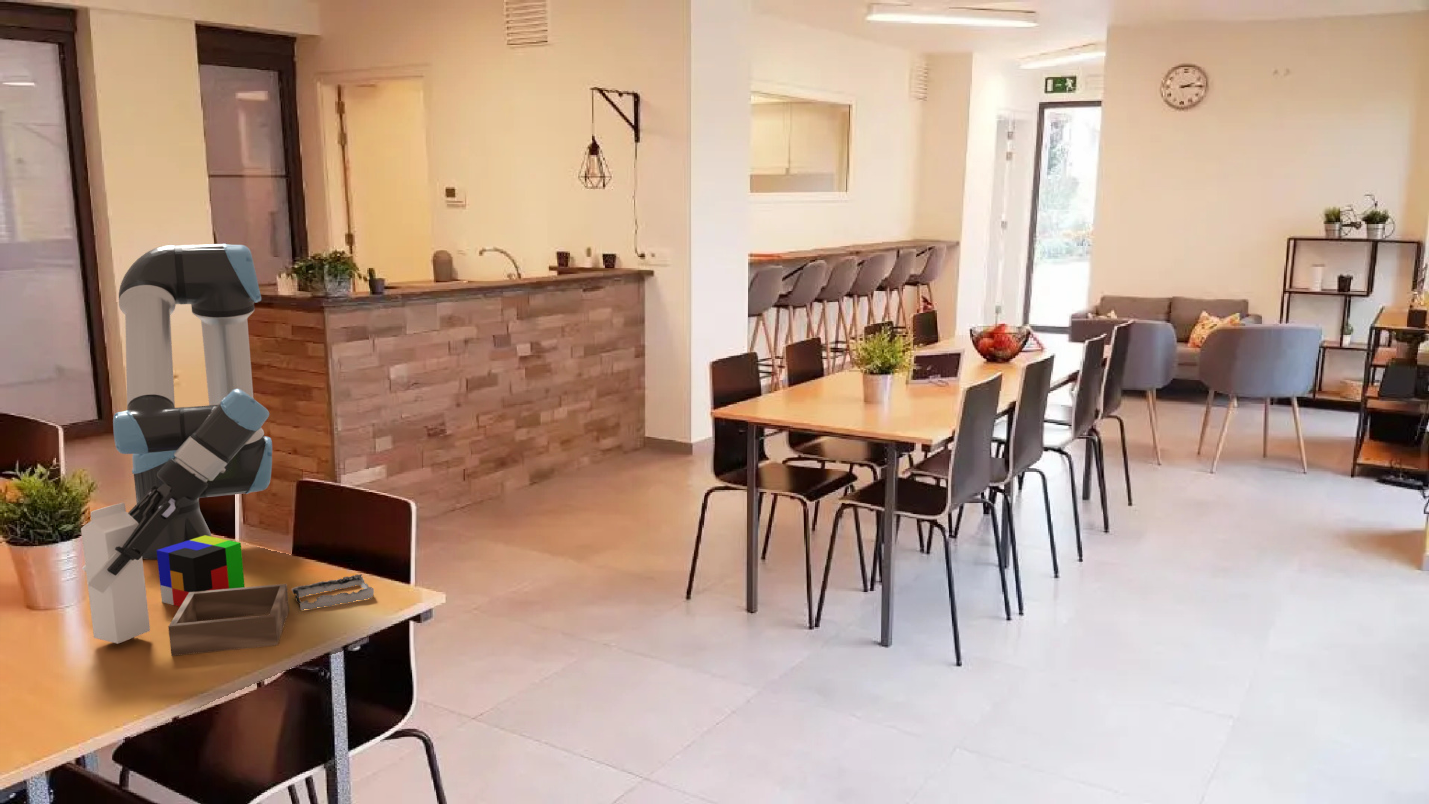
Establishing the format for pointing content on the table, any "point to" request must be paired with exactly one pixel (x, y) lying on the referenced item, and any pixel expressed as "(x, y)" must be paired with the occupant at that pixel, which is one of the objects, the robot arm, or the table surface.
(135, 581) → the milk
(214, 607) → the walnut box
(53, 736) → the table surface
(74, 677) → the table surface
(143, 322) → the robot arm
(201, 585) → the puzzle toy
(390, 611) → the table surface
